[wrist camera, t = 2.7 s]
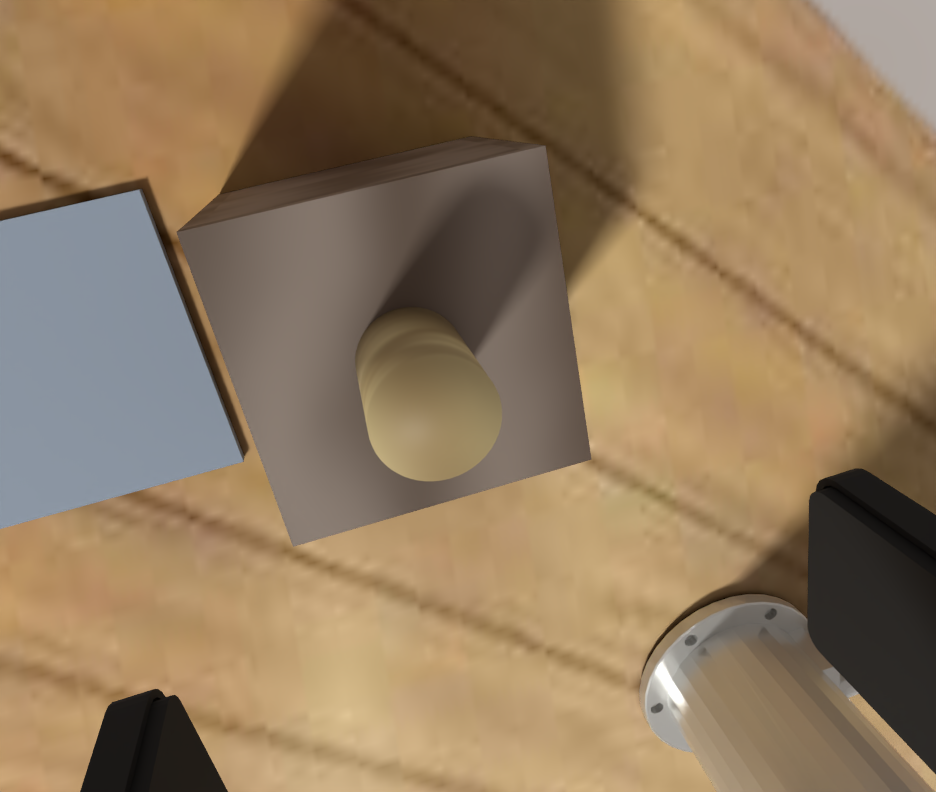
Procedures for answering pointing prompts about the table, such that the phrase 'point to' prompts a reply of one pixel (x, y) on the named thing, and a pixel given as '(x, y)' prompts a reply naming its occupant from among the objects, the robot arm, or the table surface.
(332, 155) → the table surface
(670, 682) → the robot arm
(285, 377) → the cover
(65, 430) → the mat
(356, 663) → the table surface
